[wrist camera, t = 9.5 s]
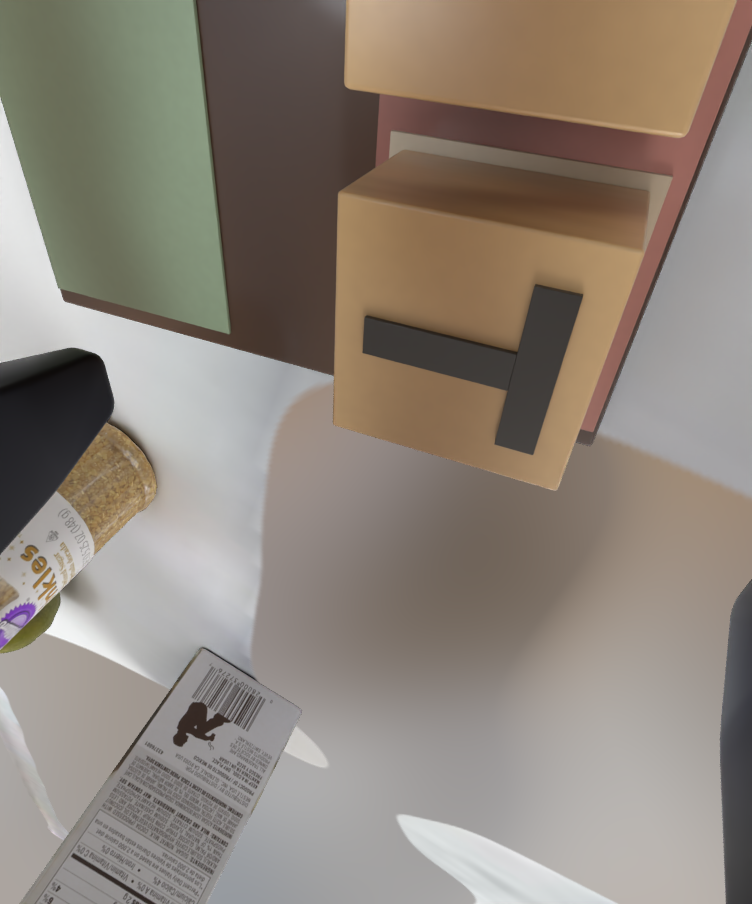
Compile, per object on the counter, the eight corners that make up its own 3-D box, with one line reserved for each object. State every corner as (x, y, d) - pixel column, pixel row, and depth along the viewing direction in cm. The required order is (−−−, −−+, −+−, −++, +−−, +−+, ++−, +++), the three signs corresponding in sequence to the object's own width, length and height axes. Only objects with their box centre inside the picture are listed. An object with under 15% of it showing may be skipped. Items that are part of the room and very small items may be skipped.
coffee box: (263, 757, 36) (66, 1136, 24) (172, 701, 36) (-68, 1054, 24) (308, 709, 30) (71, 1193, 18) (198, 642, 29) (-110, 1081, 18)
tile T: (652, 190, 10) (645, 253, 8) (576, 405, 13) (556, 496, 11) (402, 148, 11) (333, 193, 9) (384, 355, 14) (329, 428, 12)
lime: (77, 606, 32) (3, 685, 29) (2, 556, 32) (-83, 630, 28) (87, 571, 29) (5, 655, 26) (4, 516, 29) (-90, 593, 25)
